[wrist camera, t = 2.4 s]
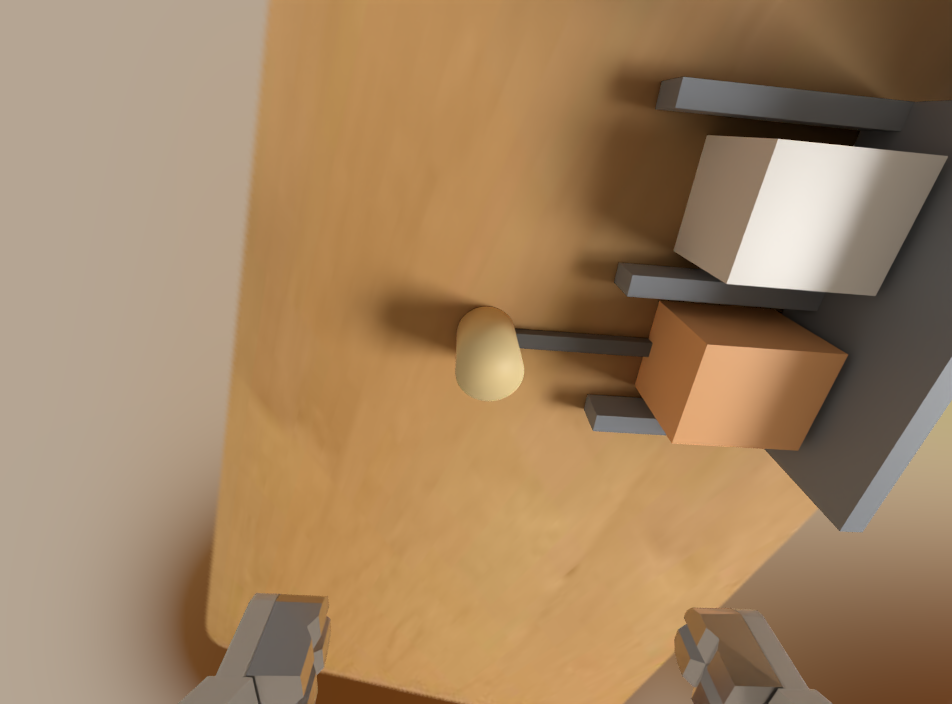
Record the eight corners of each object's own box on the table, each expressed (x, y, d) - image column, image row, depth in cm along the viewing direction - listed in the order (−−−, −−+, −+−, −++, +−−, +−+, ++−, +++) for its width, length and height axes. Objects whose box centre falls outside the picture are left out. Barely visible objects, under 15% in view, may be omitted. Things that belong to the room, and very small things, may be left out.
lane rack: (662, 81, 18) (789, 54, 11) (894, 106, 19) (1157, 96, 12) (583, 409, 25) (630, 521, 18) (753, 420, 26) (862, 532, 19)
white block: (706, 134, 19) (778, 138, 15) (838, 148, 20) (948, 156, 15) (672, 250, 22) (726, 283, 17) (791, 260, 22) (875, 296, 17)
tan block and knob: (460, 285, 22) (459, 326, 17) (773, 309, 23) (848, 354, 18) (453, 373, 24) (451, 430, 20) (739, 392, 25) (798, 450, 21)
